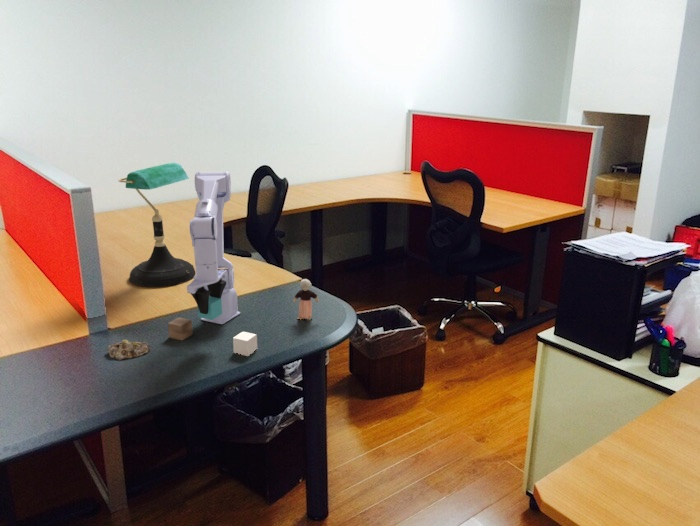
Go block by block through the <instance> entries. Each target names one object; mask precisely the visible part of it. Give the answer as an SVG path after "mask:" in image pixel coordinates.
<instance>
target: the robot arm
mask: <svg viewBox="0 0 700 526" xmlns="http://www.w3.org/2000/svg"><path fill="white" fill-rule="evenodd" d="M231 185H232V180H231V174H230V172H229V171H228V170H226V171H196V173H195V174H194V188H195V191H196V195H197V198H198V199H199V200H198V201H197V203H196V206H195V210H194V216H193V219H190V220H189V234H190V238H191V239H190V240H191V245H192V247H193V254H194V268H195V273H196V274H195V276H194V277H193V280H192V281H191V282H190V283H189V284H187V285H186V290H187V294H190V295H191V297H192V298H193V299H194V301H195V302H196V305H198V306H197V309H198V308H199V311H200V313H202V314H208V301H209V296H210V297H216V298H221V303H222V314H221V315H220V316H218V317H216V318H215V319H213V320H210V319H205V318H200V320H201V321H205V322H210V323H214V324H218V325H223V324H225V323H227V322H229V321H231V320H232V319H234V318H235V317H237V316H239V315H240V314H241V311H239V307H238V294H237V290H236V289H235V288H234V287H235V271H234V265H233V263H232V262H231V261H230V260H228V259H227V258H225V257H224V254H225V252H224V251H225V250H224V248H225V247H224V246H225V245H224V241H225V240H224V208H225V204H226V203H227V202H229V201H230V200H231V197H232V196H231V194H232V191H231V190H232V186H231Z"/></svg>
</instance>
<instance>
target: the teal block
mask: <svg viewBox="0 0 700 526" xmlns="http://www.w3.org/2000/svg"><path fill="white" fill-rule="evenodd" d="M196 305H197V304H196ZM196 307H197V318H200V319H201V318H205V319H210V320H213V319H215V318H216V317H218V316H220V315H221V314H222V303H221V298H216V297H210V296H209V301H208V314H202V313H200V311H199V308H198V305H197V306H196Z"/></svg>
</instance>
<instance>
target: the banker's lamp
mask: <svg viewBox="0 0 700 526" xmlns="http://www.w3.org/2000/svg"><path fill="white" fill-rule="evenodd" d="M188 179H189V176H188V174H187V172H186V171H185V169H184V168H183V166H182V165H181V164H179V163H176V162H168V163H164V164H159V165H154V166H151V167H146V168H143V169H137V170H134V171H131V172H129V173H128V174H127V176H126V177H123V178H120V179H118V182H119V183H125V188H126V189H133V190H135V191H136V192H137V193H138V194H139V195H140V196H141V198H142V199H143V200H144V201H145V202H146V203H147V204H148V205H149V206H150V208H151V209H153V211H154V212H153V213H154V215H153V216H152V218H151V222H152V230H153V238H154V240H155V242H154V246H153V250H152V252H151V255H150V256H149V258H148V260H145V261H142V262H140V263H139V264H137V265H136V266H134V267H133V268H132V269H131V271H130V273H129V281H130V283H132V284H134V285H136V286H138V287H144V288H145V287H146V288H160V287H161V288H163V287H171V286H176V285H180V284H183V283H186V282H188V281H190V280H192V279H194V276H196V268H195V266H194V265H193V264H192V263H190V262H188V261H186V260H184V259H182V258H180V257H179V258H178V257H175V256H173V255H172V253H171V252H170V251H169V249H168V247H167V246H166V242H165V241H164V239H165V235H164V234H165V233H164V224H163V221H164V219H163V216H162V215H160V212H159V211H160V210H159V209H157V208H156V207H155V206H154V205H152V203H151V202H150V201H149V200H148V198H147V197H146V196H145V195H144V194H143V193H142V192H141V191H140V190H146V191H147V190H154V189H159V188H162V187H164V186H168V185H171V184H175V183H178V182H182V181H185V180H188Z"/></svg>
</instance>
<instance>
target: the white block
mask: <svg viewBox="0 0 700 526" xmlns="http://www.w3.org/2000/svg"><path fill="white" fill-rule="evenodd" d="M232 346H233V353H234V354H236V353H238V354H237V355H240V354H241V356H246V357H250V354H251V355H252V354H253V353H255V352H256V351H257V350H258V335H257V333H256V334H255V333H252V332H248V331H241V332H240V333H238V334H237V335H235V336H233V337H232ZM256 349H257V350H256ZM255 350H256V351H255ZM254 351H255V352H254Z"/></svg>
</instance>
